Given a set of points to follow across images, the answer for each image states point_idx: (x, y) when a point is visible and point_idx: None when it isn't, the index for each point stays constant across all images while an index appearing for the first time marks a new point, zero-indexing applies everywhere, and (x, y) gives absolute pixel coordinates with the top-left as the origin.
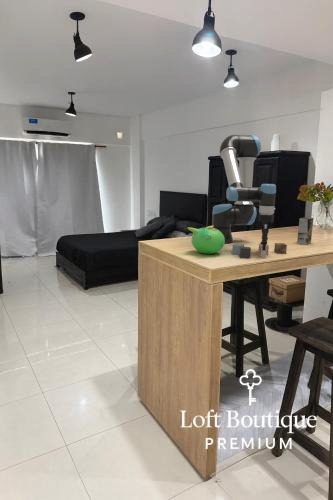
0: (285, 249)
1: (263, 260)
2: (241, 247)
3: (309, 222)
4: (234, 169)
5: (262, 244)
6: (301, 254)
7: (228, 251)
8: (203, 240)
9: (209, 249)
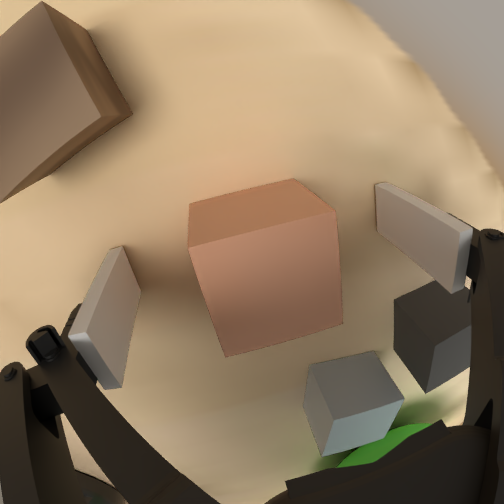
0: (74, 27)
1: (476, 181)
2: (455, 372)
3: None
4: None
5: (462, 274)
6: None
7: (292, 430)
8: None
9: None
